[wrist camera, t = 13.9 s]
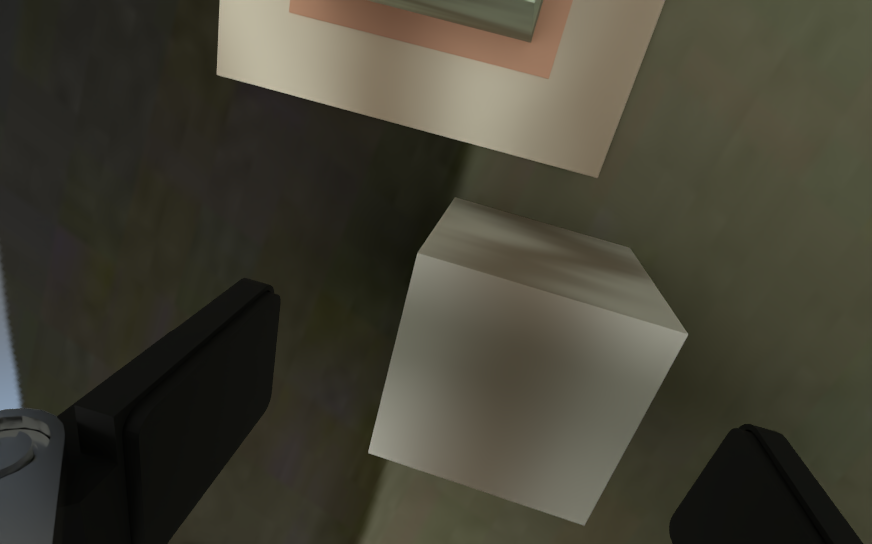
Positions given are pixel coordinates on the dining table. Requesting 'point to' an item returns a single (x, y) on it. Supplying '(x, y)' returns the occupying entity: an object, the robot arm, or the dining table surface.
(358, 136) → the dining table surface
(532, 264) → the cream block
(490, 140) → the board
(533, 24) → the sage block
